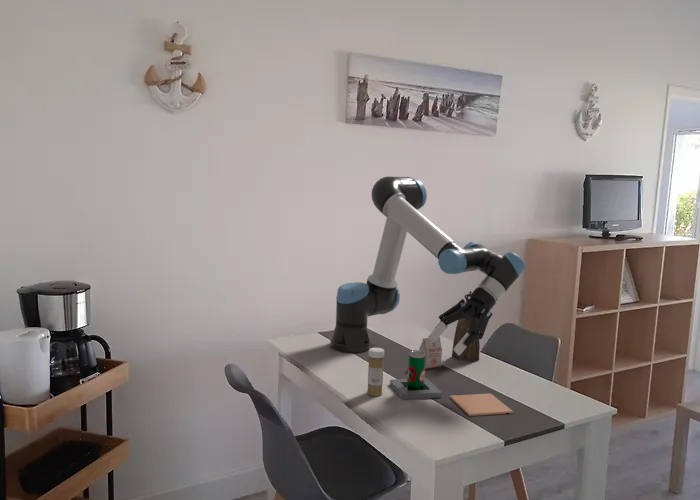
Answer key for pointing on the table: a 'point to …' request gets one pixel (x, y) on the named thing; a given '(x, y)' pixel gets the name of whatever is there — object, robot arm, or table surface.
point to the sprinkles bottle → (375, 371)
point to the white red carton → (432, 352)
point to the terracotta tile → (480, 404)
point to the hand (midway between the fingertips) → (443, 346)
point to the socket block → (429, 391)
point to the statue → (462, 328)
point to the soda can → (416, 370)
